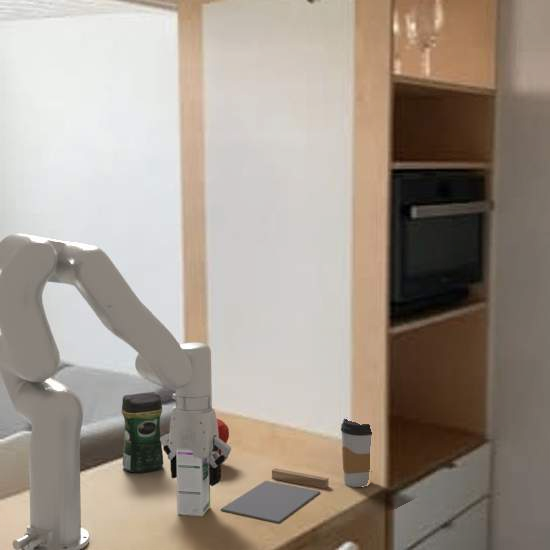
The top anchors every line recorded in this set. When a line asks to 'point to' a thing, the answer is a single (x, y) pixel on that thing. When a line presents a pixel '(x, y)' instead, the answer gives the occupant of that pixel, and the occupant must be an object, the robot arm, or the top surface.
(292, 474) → the strip
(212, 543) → the top surface
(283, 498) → the mat
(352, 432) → the coffee cup
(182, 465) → the syrup box
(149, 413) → the coffee jar
